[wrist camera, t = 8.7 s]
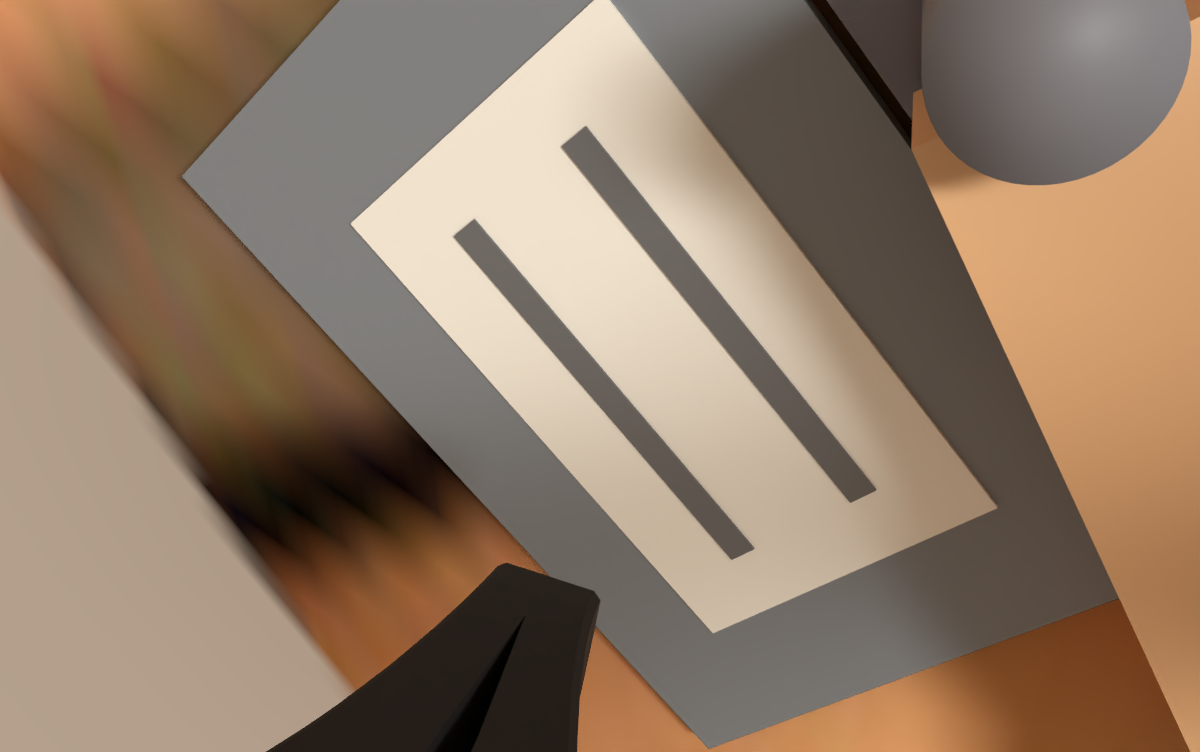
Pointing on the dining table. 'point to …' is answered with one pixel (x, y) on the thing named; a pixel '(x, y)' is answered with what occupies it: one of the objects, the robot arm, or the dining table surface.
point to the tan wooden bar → (1089, 267)
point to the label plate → (670, 330)
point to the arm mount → (888, 41)
